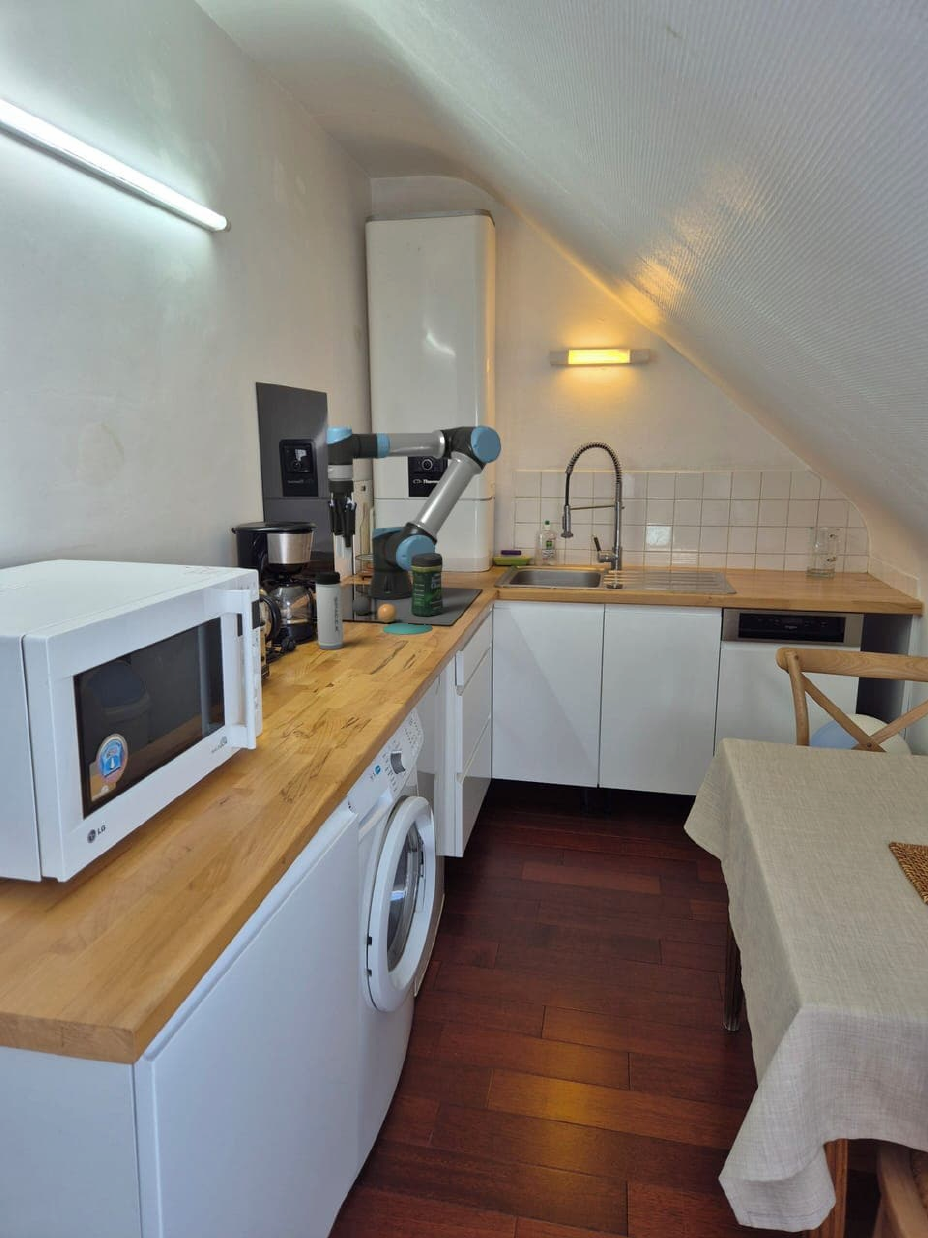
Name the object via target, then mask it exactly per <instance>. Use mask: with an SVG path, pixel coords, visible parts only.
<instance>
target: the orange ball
mask: <svg viewBox="0 0 928 1238" xmlns="http://www.w3.org/2000/svg"><path fill="white" fill-rule="evenodd" d="M397 614H398V611H397V608H396V607H395V606H394V605H393V604H391V603H384V604H382V605H380V606H379V608H378V610H377V617H378V619H379V620H380V622H382V623H386V624H389V622H390V623H392V622H394V621H395V620H396V618H397Z"/></svg>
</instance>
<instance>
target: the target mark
mask: <svg viewBox="0 0 928 1238" xmlns="http://www.w3.org/2000/svg"><path fill="white" fill-rule="evenodd" d="M426 624H427V623H424V625H413V624H408V623H403V622H396V623H395V622H394V623H390V624H389V623H388V624H386V625H384V626H383V627H382V629H381V630H382V631H383V632H384V633H387V634H392V635H418V634H425V633H428V632H430V631H432V630H433V626H432V625H431V624H428V625H426Z"/></svg>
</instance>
